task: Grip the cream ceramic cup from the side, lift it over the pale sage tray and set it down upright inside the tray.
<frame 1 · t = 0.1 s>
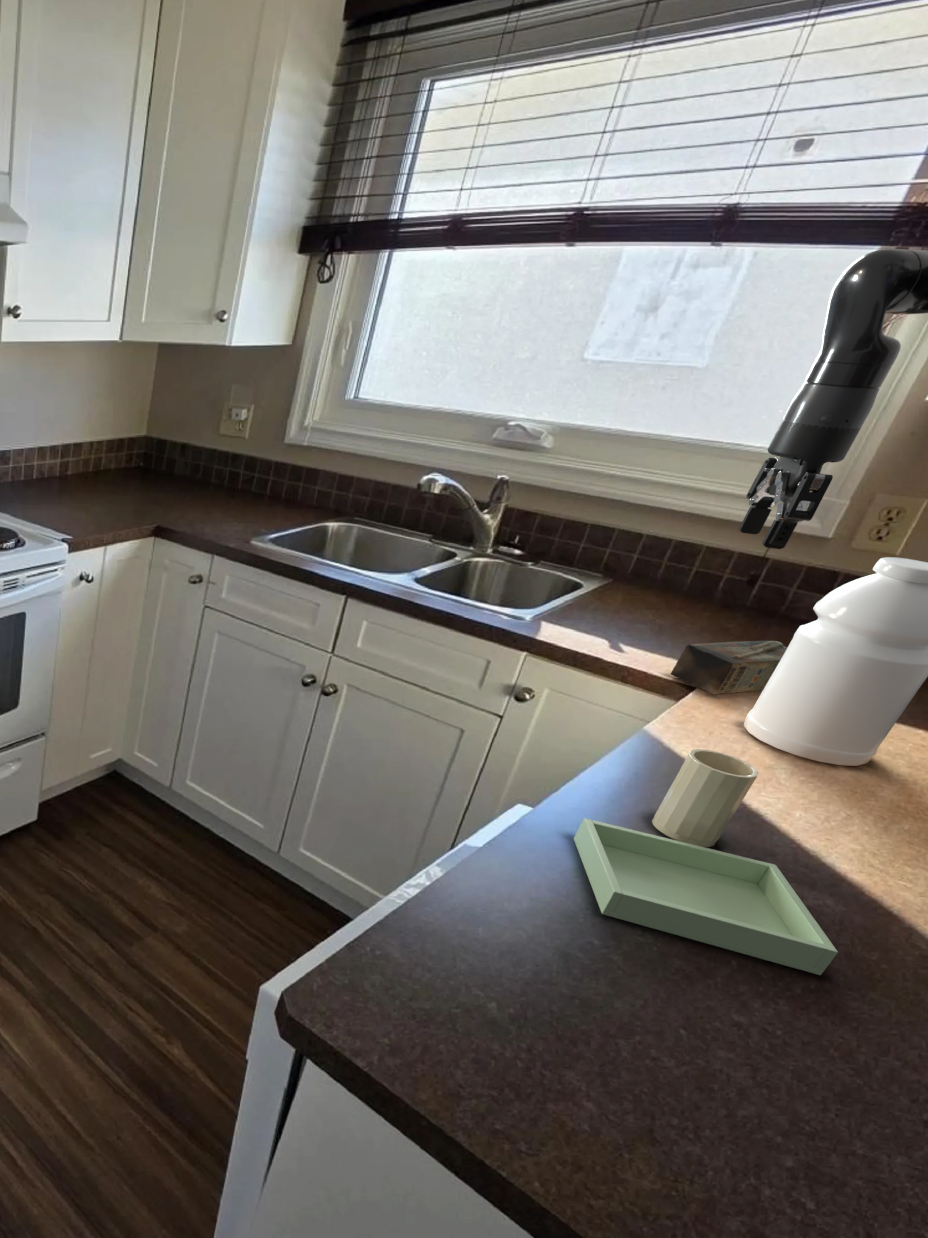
hand: (759, 540, 113), 28 cm above the worktop, tool pointing down, fingers open, 8 cm apart
cup: (683, 831, 98), on the worktop
bottle: (802, 743, 120), on the worktop
beverage carton: (731, 683, 138), on the worktop
tray: (683, 899, 87), on the worktop
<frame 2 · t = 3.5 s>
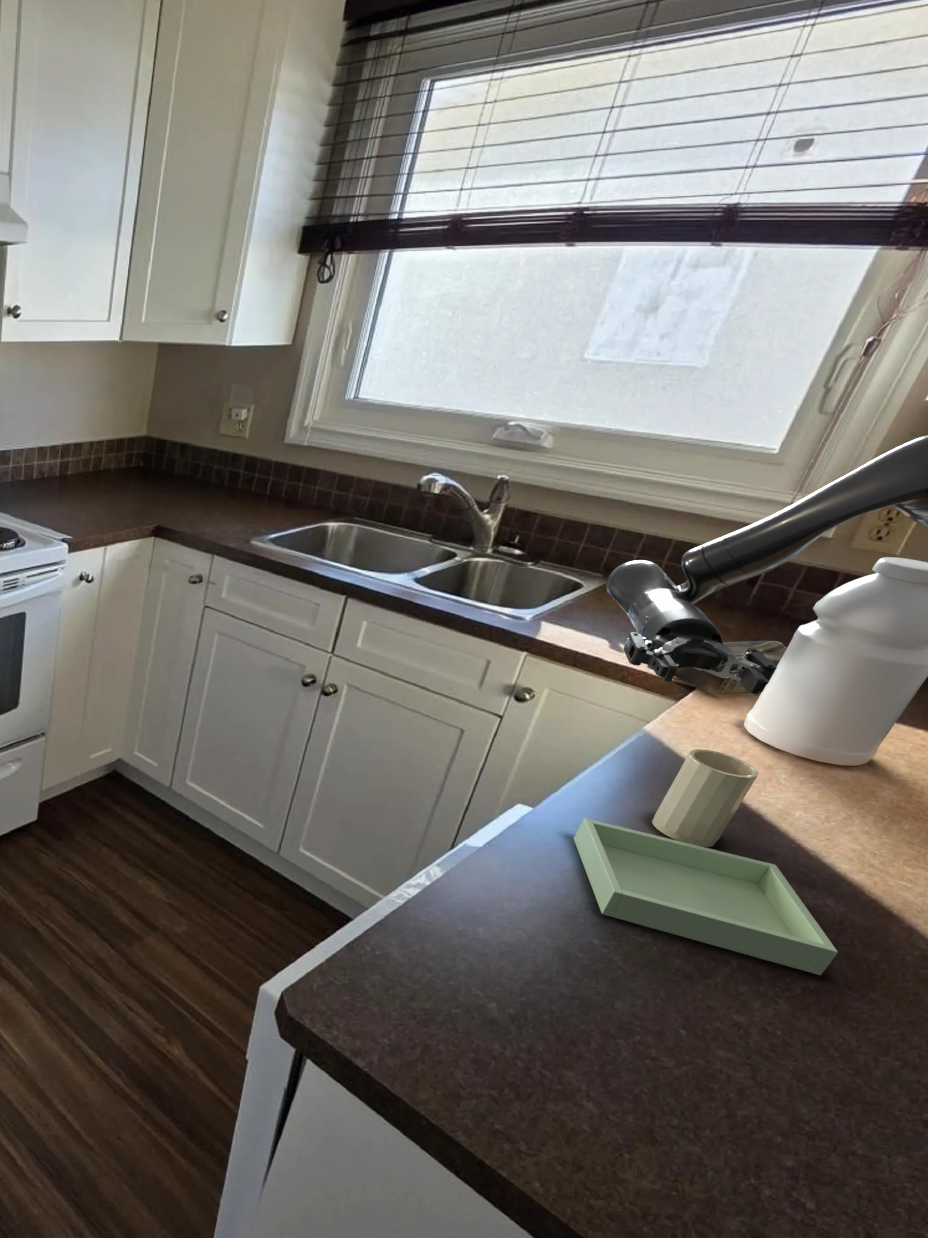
hand: (713, 681, 100), 16 cm above the worktop, tool horizontal, fingers open, 8 cm apart
nothing on the worktop moved.
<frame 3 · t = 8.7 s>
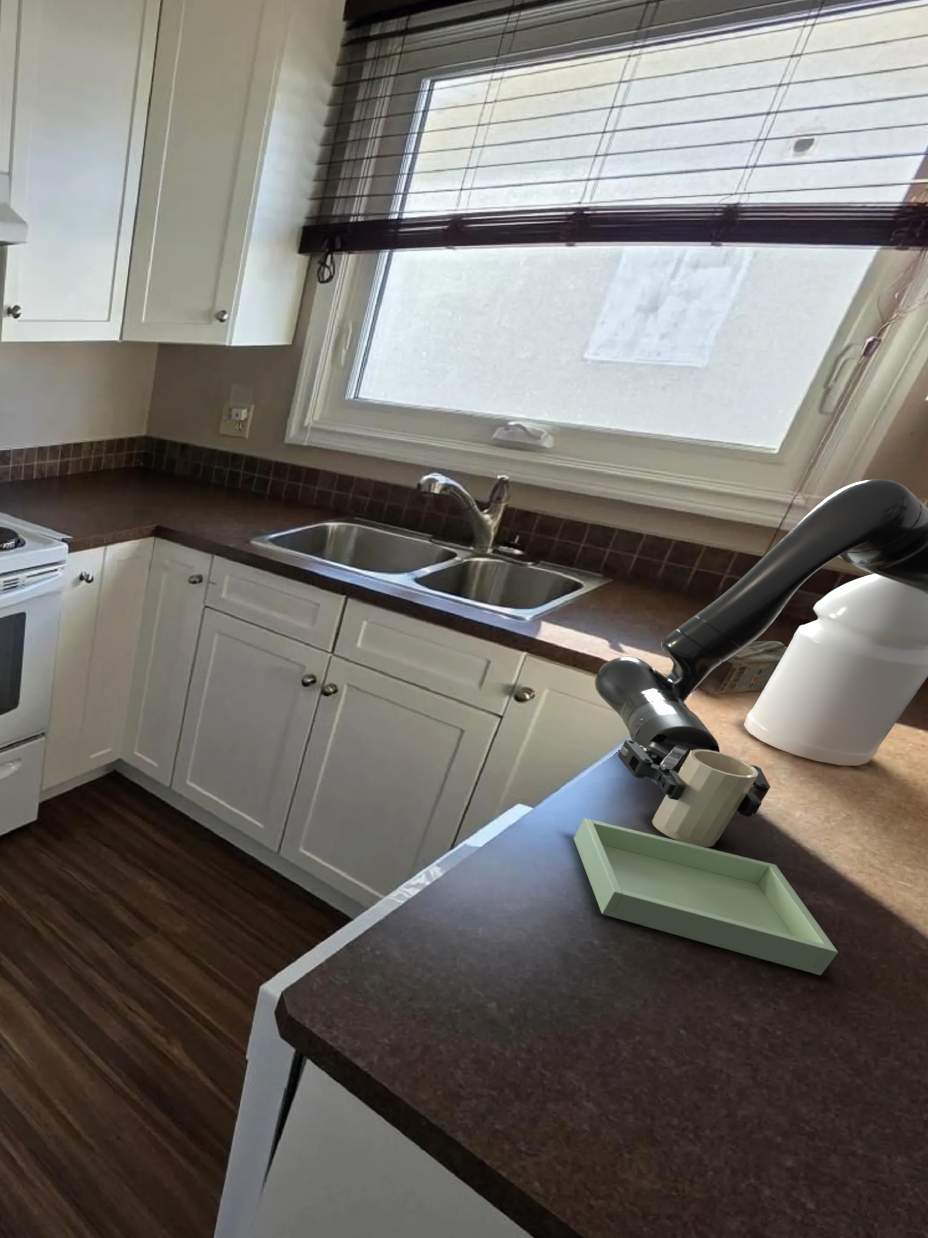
hand: (713, 801, 93), 6 cm above the worktop, tool horizontal, fingers closed on cup, 6 cm apart
cup: (683, 831, 98), on the worktop, touching gripper
everything else where it was.
when the fingers open (7 cm above the worktop, at t = 17.8 s): cup stays where it is, resting on tray.
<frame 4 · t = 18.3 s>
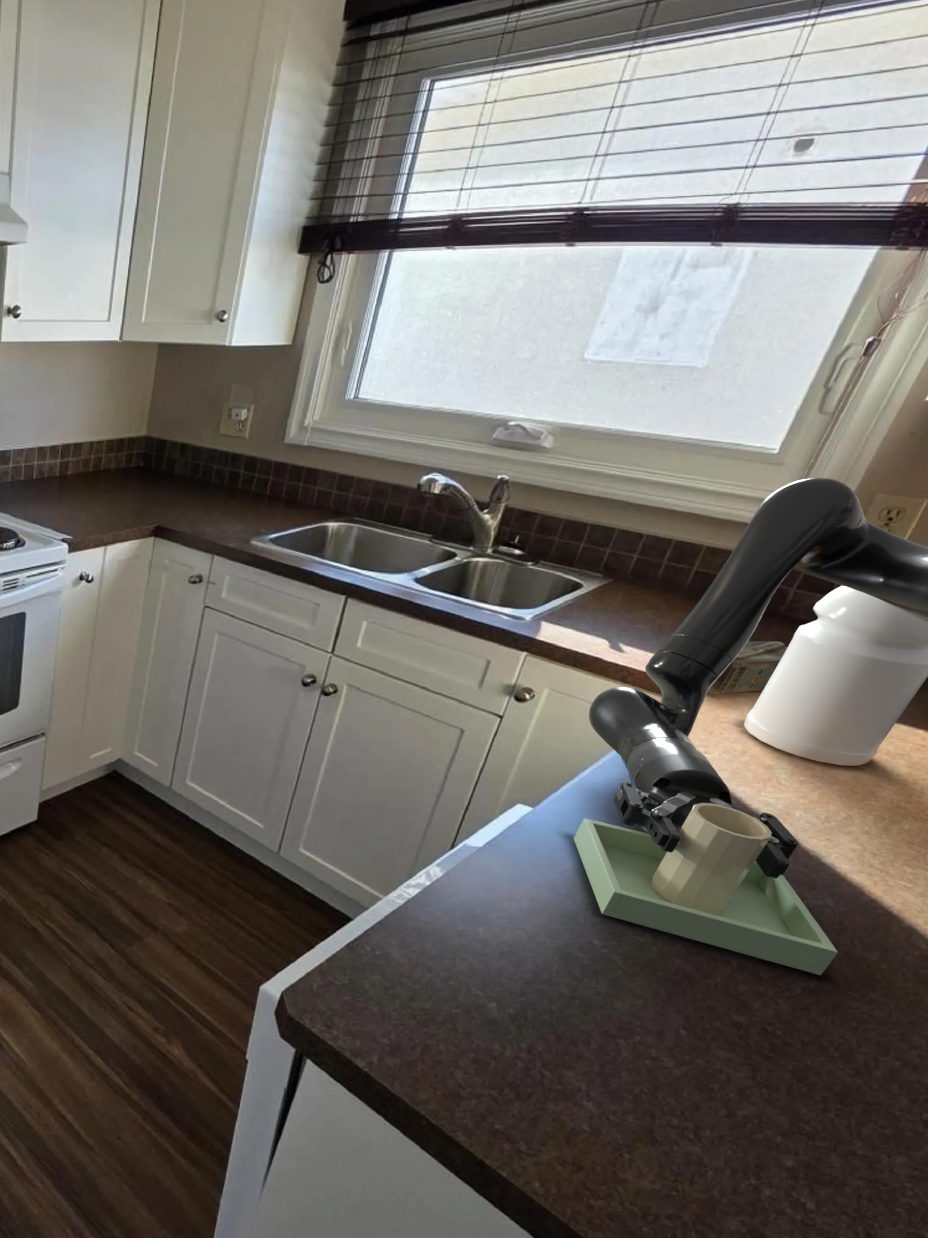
hand: (723, 857, 82), 7 cm above the worktop, tool horizontal, fingers open, 8 cm apart
cup: (685, 895, 86), point 1 cm above the worktop, touching tray
everything else where it was.
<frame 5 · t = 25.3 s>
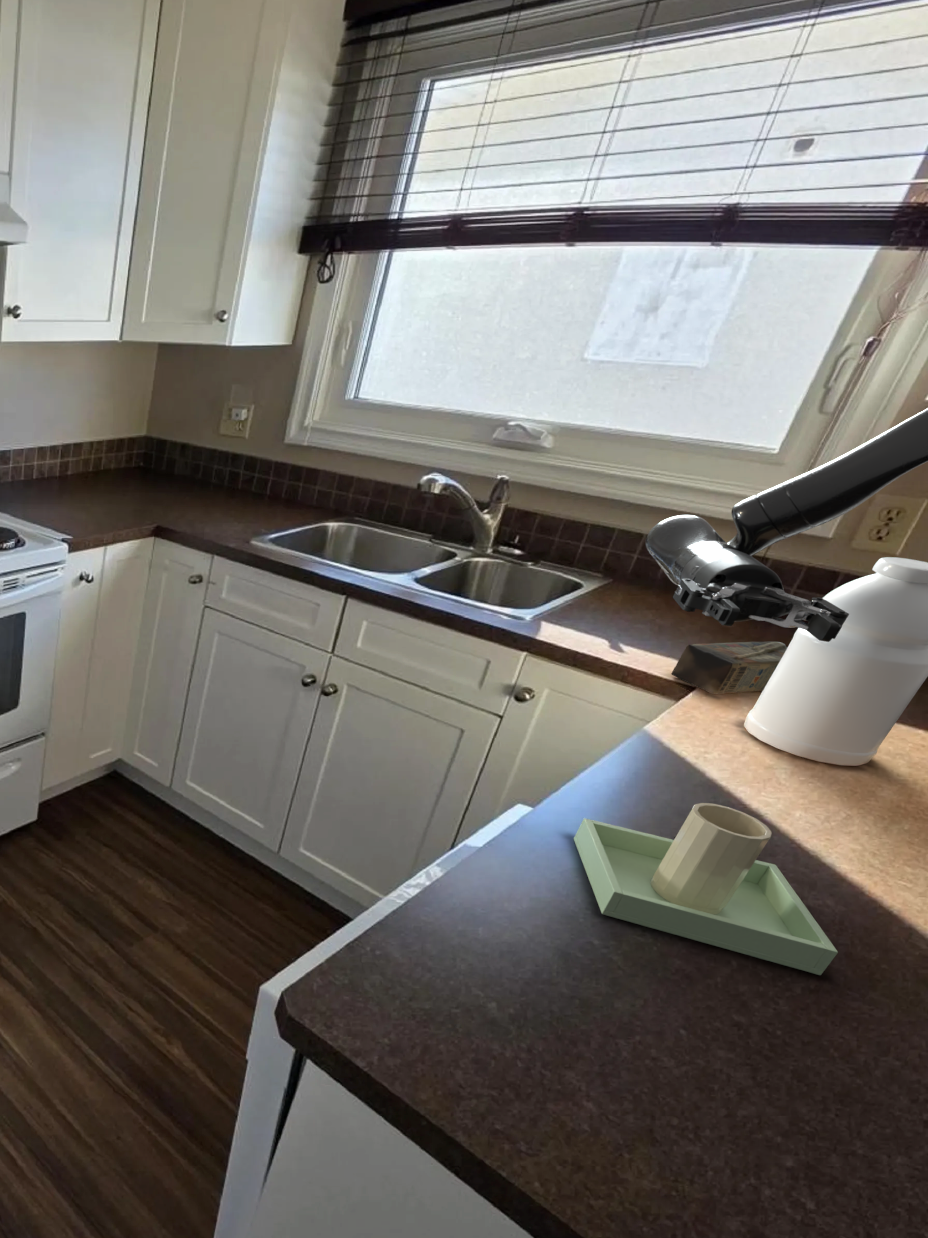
hand: (780, 625, 89), 26 cm above the worktop, tool horizontal, fingers open, 8 cm apart
nothing on the worktop moved.
at the end: cup inside the target area in the tray (0.1 cm from its centre), point 0.6 cm above the tray's base; cup tilted 0°; the gripper is holding nothing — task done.
